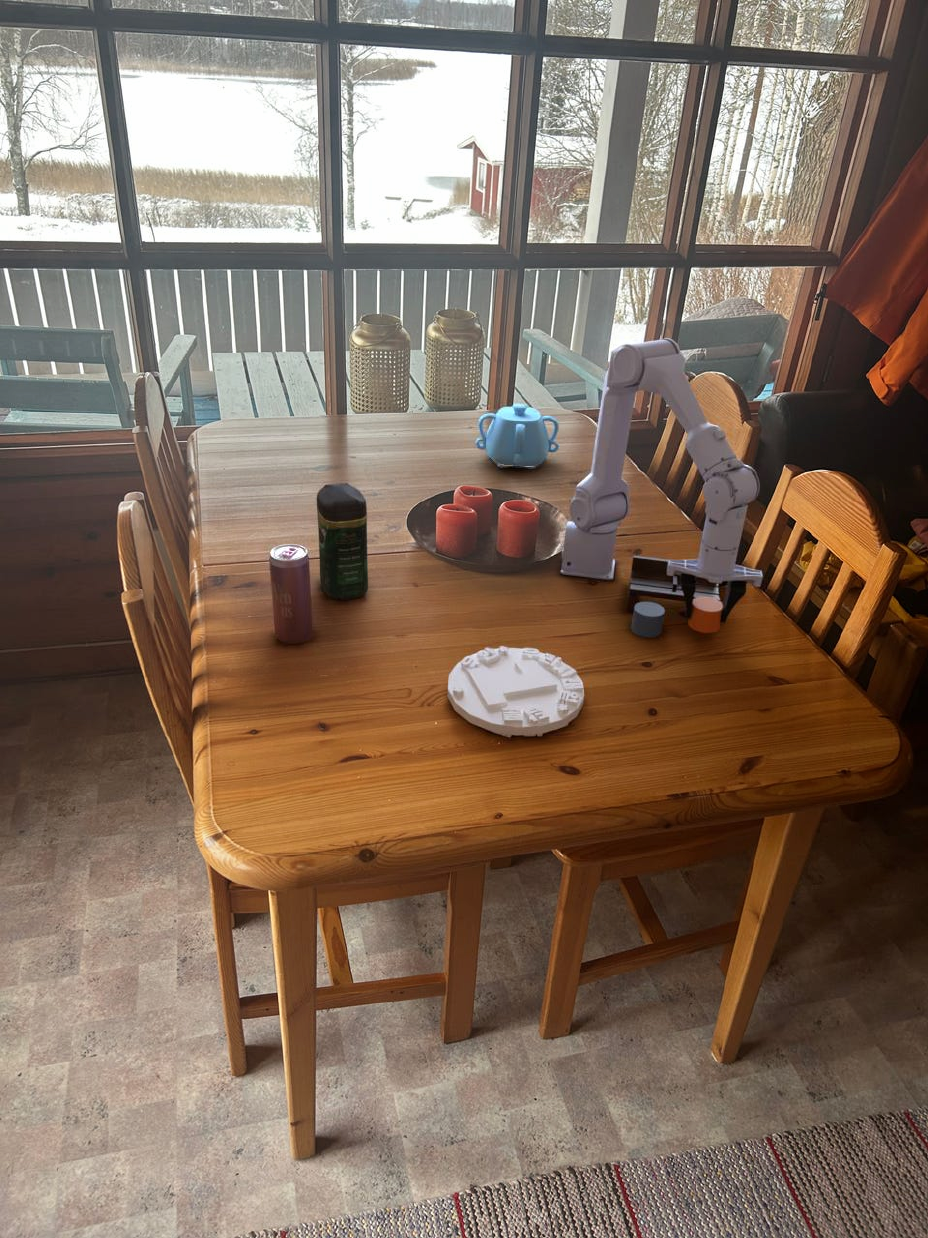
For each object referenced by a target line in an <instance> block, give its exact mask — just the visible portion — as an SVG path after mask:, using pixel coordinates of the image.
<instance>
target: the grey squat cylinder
mask: <svg viewBox="0 0 928 1238" xmlns="http://www.w3.org/2000/svg"><path fill="white" fill-rule="evenodd" d="M665 613H666V609H665V608H664V607H663V605H661V604H658V603H656V602H653V601H640V602H637V603H635V606H634V612H633V613H632V619H631V626H630V629H631V632H633V634H635V635H637V636H639V637H643V638H657V637H659V636H660V635H661V634H662V630H663V624H664V620H665Z"/></svg>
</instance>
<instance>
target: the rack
mask: <svg viewBox="0 0 928 1238" xmlns="http://www.w3.org/2000/svg"><path fill="white" fill-rule="evenodd" d="M668 560H669V559H665V558H656V557H648V556H642V555H641V556H640V555H633V556H632V562H631V568H630V570H631V571H630V576H629V582H628V591H627V603H626V613H631V614H633V612H634V607H635V605H636V600H637V599H636V598H637V596H639V597H646V598H654V599H661V600H669V601H677V602H685V598H684V594H683V591H682V588H681V584H680V575H676V574H674V576H668V575H667V566H668ZM697 597H711V598H714V599H717V600H719V601H720V602H721V598H720V591H719V588H718V583H711V582H709V581H708V579H705V578H700V577H696V590H695V593H694V598H693V599H695V598H697Z"/></svg>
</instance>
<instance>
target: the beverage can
mask: <svg viewBox="0 0 928 1238" xmlns="http://www.w3.org/2000/svg"><path fill="white" fill-rule="evenodd" d="M268 562H269V563H268V564H269V575H270V587H271V588H270V590H271V600H272V601H271V602H272V613H273V626H274V635H275V637H276V638H277V639H278V640H279V641H280V642H281V643H284V644H287V645H299V644H303V643H305V642H308V640H309V639H310V638H311V636H312V635H313V633H314V627H313V610H312V608H313V607H312V591H311V589H312V588H311V575H310V574H311V572H310V569H311V568H310V557H309V554H308V550H307V548H306V547H305V546H302V545H300V544H294V543H287V544H286V543H285V544H280V545H278V546H274V547H273V548H271V550H270V551H269V558H268Z"/></svg>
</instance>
